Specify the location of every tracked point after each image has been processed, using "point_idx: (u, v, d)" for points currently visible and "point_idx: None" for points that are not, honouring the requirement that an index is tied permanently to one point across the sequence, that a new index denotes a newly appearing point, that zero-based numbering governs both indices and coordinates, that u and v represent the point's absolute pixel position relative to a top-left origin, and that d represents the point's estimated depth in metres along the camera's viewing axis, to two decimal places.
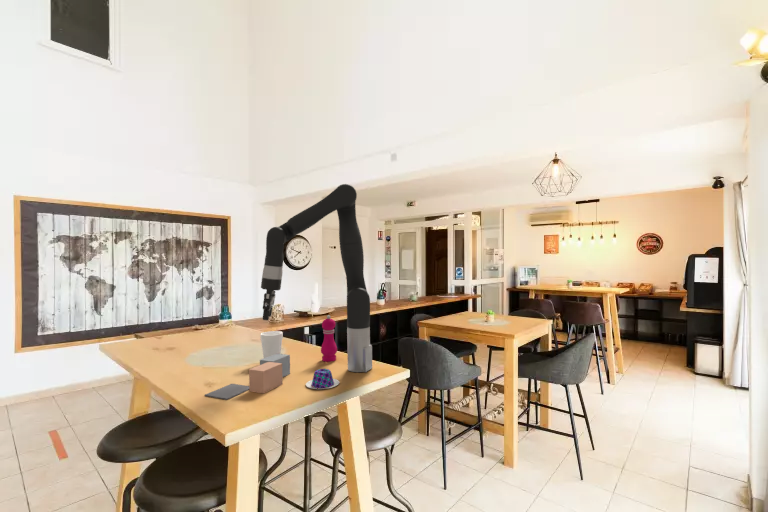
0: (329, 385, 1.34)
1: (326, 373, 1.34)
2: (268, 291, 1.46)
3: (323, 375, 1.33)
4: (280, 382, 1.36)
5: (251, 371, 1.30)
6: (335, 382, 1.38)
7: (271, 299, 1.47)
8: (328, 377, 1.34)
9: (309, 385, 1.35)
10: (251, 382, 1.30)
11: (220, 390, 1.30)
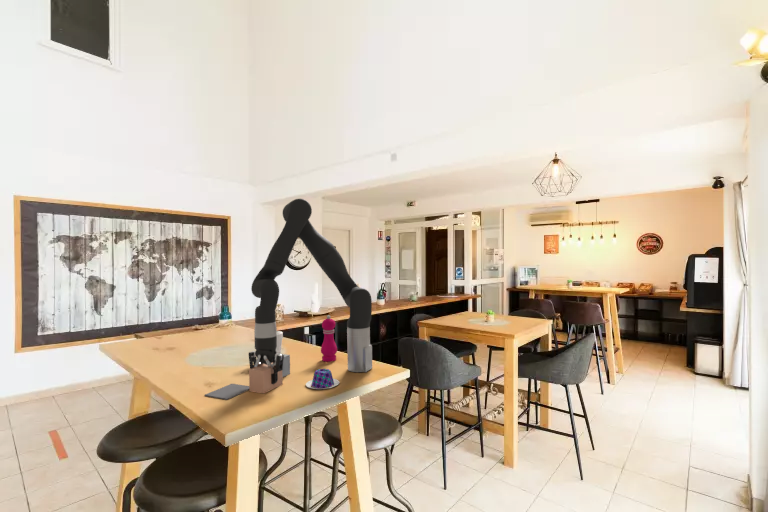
0: (330, 385, 1.34)
1: (326, 373, 1.34)
2: (273, 350, 1.32)
3: (323, 375, 1.33)
4: (280, 382, 1.36)
5: (251, 371, 1.30)
6: (335, 382, 1.38)
7: None
8: (328, 377, 1.34)
9: (309, 385, 1.35)
10: (251, 382, 1.30)
11: (220, 390, 1.30)
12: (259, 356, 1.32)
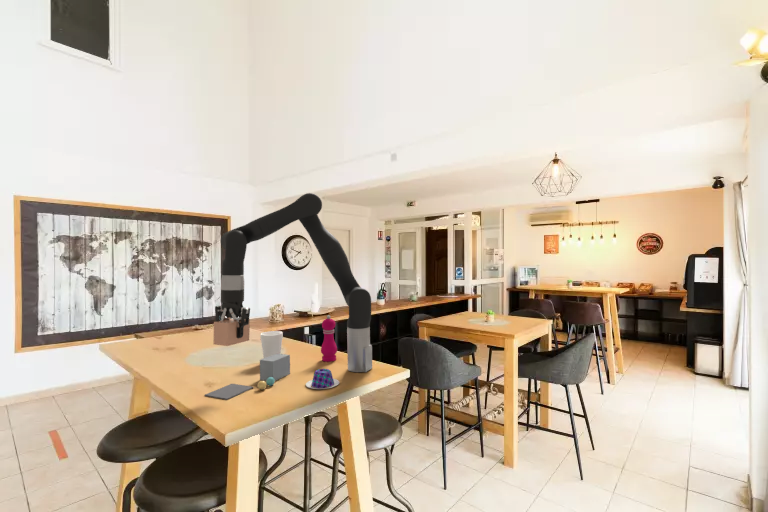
0: (330, 385, 1.34)
1: (327, 373, 1.34)
2: (240, 304, 1.29)
3: (324, 375, 1.33)
4: (247, 338, 1.33)
5: (216, 323, 1.27)
6: (334, 381, 1.38)
7: None
8: (329, 377, 1.34)
9: (309, 386, 1.34)
10: (215, 335, 1.27)
11: (220, 390, 1.30)
12: (225, 309, 1.29)
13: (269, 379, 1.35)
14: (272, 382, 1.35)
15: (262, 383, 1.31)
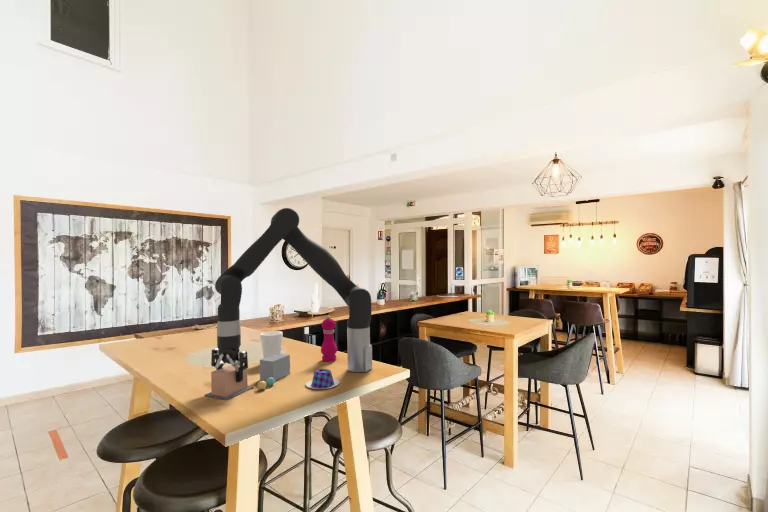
0: (331, 384, 1.34)
1: (327, 373, 1.35)
2: (236, 349, 1.28)
3: (325, 375, 1.33)
4: (245, 385, 1.32)
5: (213, 374, 1.26)
6: (334, 381, 1.39)
7: None
8: (330, 376, 1.35)
9: (310, 386, 1.34)
10: (213, 385, 1.26)
11: None
12: (222, 355, 1.29)
13: (269, 379, 1.35)
14: (272, 382, 1.35)
15: (262, 383, 1.31)
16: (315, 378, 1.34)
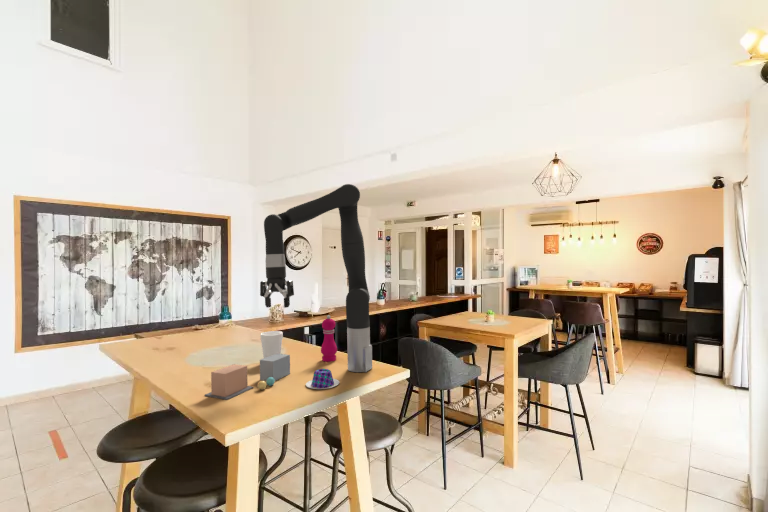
0: (331, 384, 1.34)
1: (328, 372, 1.35)
2: (283, 279, 1.47)
3: (325, 375, 1.34)
4: (245, 385, 1.32)
5: (213, 374, 1.26)
6: (334, 381, 1.39)
7: None
8: (330, 376, 1.35)
9: (310, 386, 1.34)
10: (213, 385, 1.26)
11: None
12: (270, 284, 1.47)
13: (269, 379, 1.35)
14: (272, 382, 1.35)
15: (262, 383, 1.31)
16: (315, 378, 1.34)
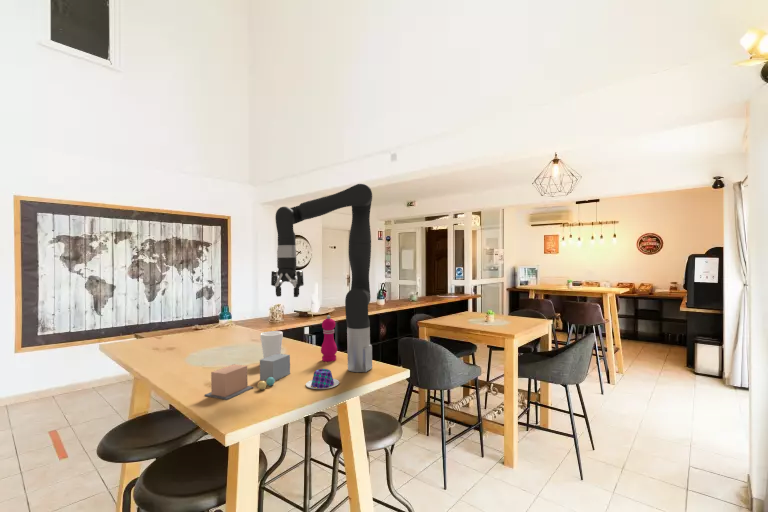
0: (332, 384, 1.35)
1: (328, 372, 1.35)
2: (294, 269, 1.52)
3: (326, 375, 1.34)
4: (245, 385, 1.32)
5: (213, 374, 1.26)
6: (333, 381, 1.39)
7: None
8: (330, 376, 1.35)
9: (310, 386, 1.33)
10: (213, 385, 1.26)
11: None
12: (281, 274, 1.52)
13: (269, 379, 1.35)
14: (272, 382, 1.35)
15: (262, 383, 1.31)
16: (316, 378, 1.34)
